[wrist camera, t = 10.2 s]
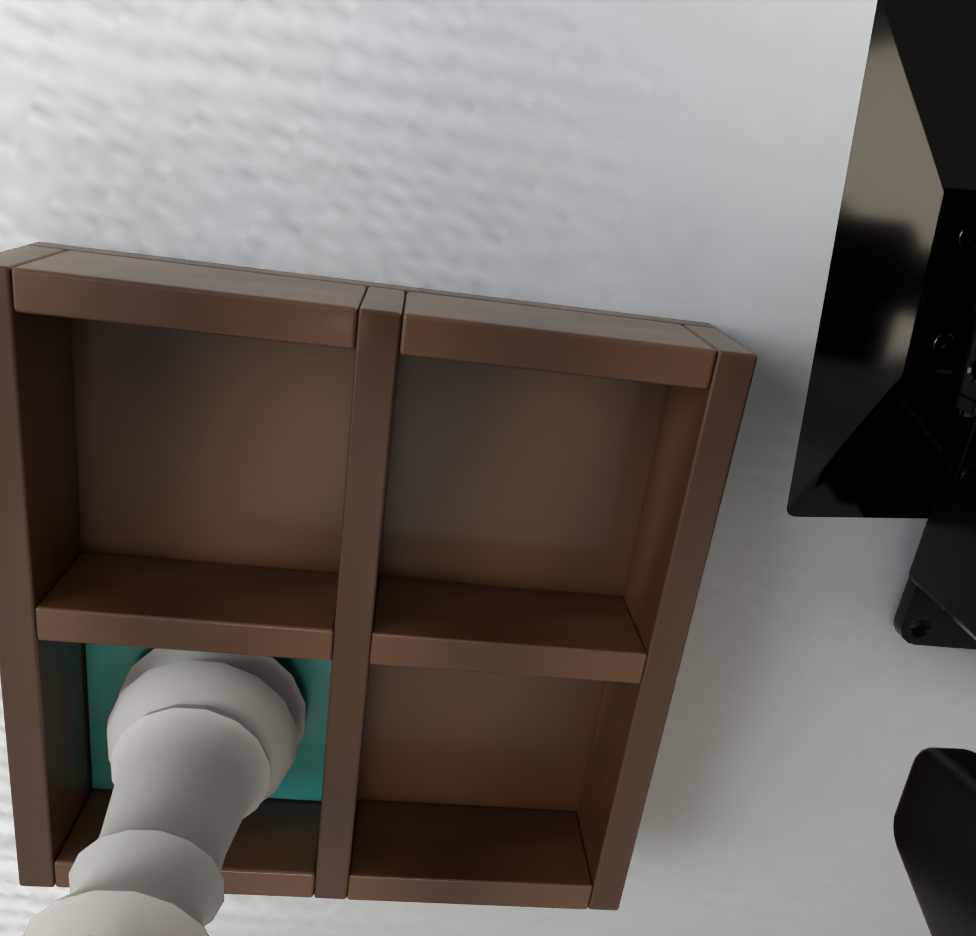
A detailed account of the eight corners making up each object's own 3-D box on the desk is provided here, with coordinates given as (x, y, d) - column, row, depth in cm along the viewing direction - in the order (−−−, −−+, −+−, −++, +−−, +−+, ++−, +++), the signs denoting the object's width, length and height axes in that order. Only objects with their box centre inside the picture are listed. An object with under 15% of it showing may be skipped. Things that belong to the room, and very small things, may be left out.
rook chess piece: (242, 800, 22) (145, 1143, 14) (88, 715, 21) (-104, 1042, 13) (345, 687, 21) (298, 994, 13) (190, 590, 19) (42, 869, 12)
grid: (710, 322, 19) (759, 355, 16) (596, 821, 24) (618, 911, 21) (36, 241, 17) (-40, 261, 14) (70, 793, 22) (19, 886, 19)
